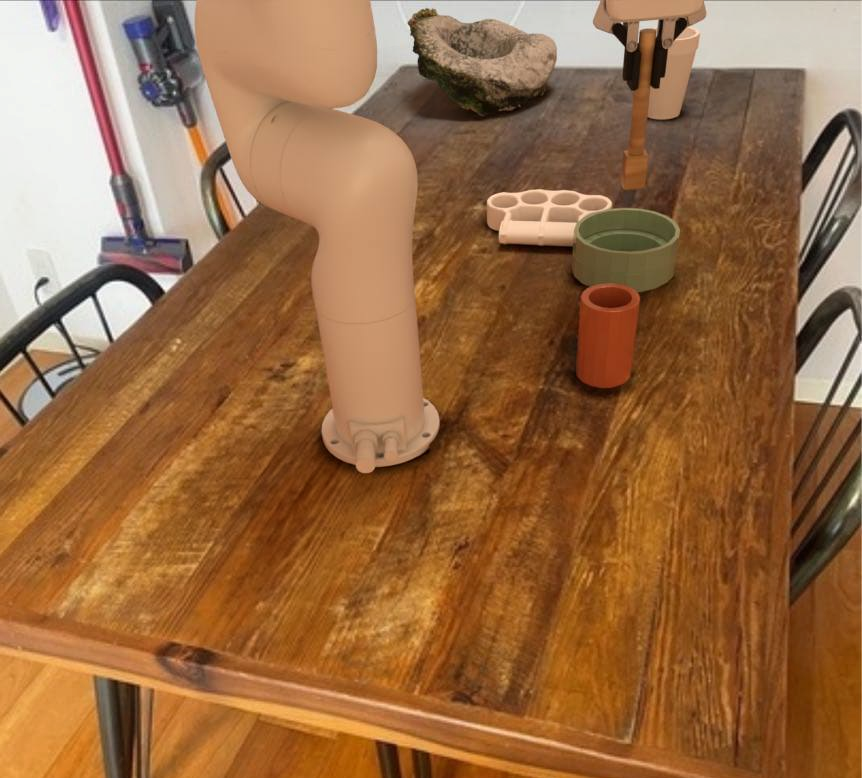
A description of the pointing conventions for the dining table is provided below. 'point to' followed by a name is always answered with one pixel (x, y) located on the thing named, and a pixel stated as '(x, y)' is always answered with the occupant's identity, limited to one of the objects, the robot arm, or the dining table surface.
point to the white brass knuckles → (541, 215)
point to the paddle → (639, 118)
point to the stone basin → (482, 60)
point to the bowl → (625, 248)
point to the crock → (607, 334)
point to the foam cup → (674, 76)
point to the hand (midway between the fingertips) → (642, 84)
